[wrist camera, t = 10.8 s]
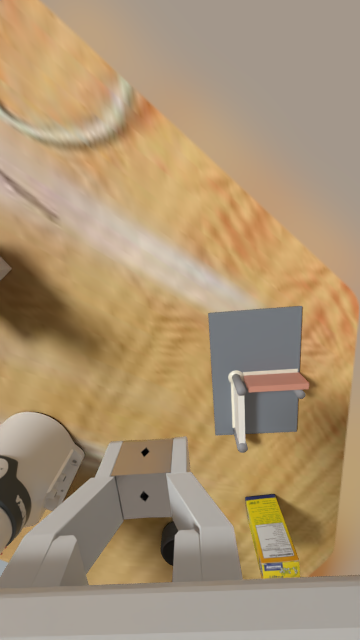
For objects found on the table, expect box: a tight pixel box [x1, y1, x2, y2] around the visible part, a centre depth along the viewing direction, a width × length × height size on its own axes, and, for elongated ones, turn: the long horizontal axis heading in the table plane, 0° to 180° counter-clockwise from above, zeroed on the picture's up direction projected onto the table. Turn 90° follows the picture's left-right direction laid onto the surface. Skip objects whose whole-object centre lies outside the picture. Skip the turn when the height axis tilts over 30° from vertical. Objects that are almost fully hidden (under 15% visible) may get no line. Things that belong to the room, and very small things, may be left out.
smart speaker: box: [161, 521, 178, 566], centre depth 49 cm, size 9×9×4 cm
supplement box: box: [245, 494, 300, 579], centre depth 43 cm, size 6×6×11 cm
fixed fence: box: [232, 374, 305, 453], centre depth 40 cm, size 12×10×5 cm
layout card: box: [208, 306, 302, 435], centre depth 40 cm, size 23×14×1 cm, turn 5°
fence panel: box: [244, 372, 309, 392], centre depth 38 cm, size 9×1×4 cm, turn 95°
